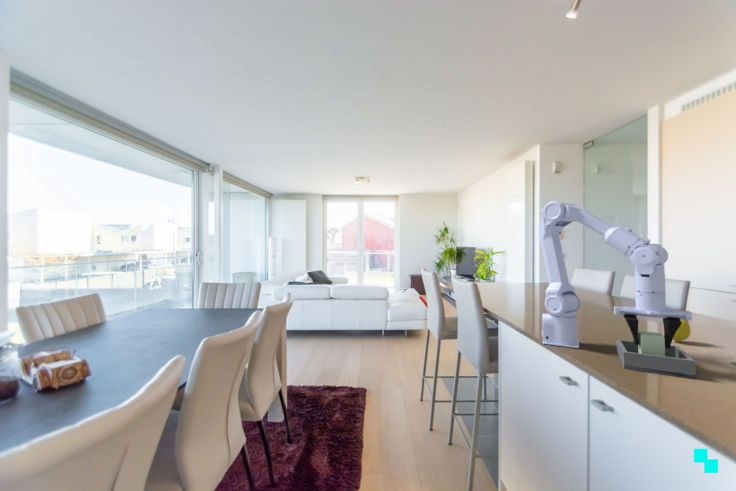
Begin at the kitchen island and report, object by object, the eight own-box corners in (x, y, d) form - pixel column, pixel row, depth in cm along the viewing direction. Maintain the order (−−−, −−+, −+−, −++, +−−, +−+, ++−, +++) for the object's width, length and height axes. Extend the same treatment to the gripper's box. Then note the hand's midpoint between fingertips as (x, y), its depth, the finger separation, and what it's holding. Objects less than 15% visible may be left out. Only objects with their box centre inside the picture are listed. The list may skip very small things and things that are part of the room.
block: (642, 362, 79) (640, 334, 79) (638, 357, 83) (637, 330, 83) (665, 365, 77) (664, 336, 77) (660, 360, 80) (659, 332, 81)
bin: (624, 368, 78) (623, 352, 78) (616, 353, 88) (616, 339, 88) (695, 378, 71) (695, 361, 71) (678, 361, 82) (678, 345, 82)
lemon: (695, 345, 94) (694, 318, 94) (673, 344, 95) (673, 318, 95) (681, 340, 100) (680, 314, 100) (660, 339, 101) (660, 314, 101)
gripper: (616, 292, 80) (617, 345, 80) (695, 295, 73) (697, 355, 72) (612, 288, 86) (613, 338, 86) (685, 292, 78) (687, 346, 78)
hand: (651, 345), depth 80 cm, fingers open, 5 cm apart
